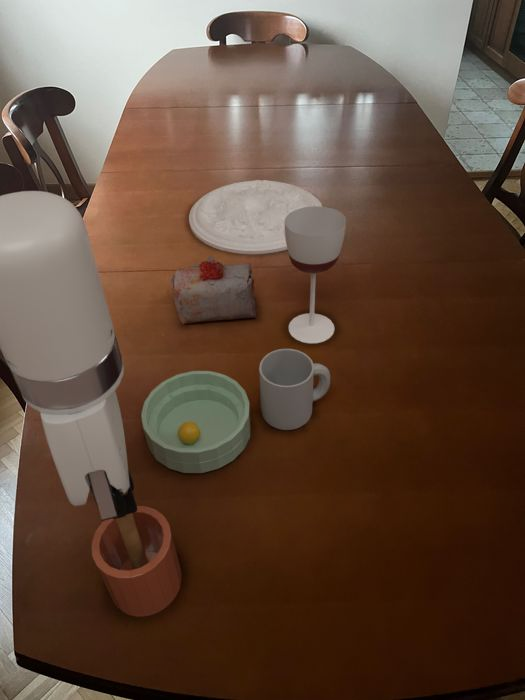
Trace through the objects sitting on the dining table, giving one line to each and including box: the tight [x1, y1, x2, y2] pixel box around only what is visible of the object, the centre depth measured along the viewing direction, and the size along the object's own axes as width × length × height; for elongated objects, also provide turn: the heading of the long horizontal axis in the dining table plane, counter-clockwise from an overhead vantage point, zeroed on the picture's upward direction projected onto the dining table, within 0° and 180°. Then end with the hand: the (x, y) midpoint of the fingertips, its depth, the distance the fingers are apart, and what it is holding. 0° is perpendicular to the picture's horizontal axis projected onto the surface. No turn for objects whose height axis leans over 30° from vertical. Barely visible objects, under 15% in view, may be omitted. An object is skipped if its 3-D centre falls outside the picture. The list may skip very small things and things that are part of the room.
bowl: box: [140, 370, 252, 474], centre depth 80 cm, size 14×14×5 cm
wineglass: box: [285, 206, 347, 344], centre depth 90 cm, size 8×9×20 cm
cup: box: [258, 348, 331, 431], centre depth 81 cm, size 7×10×9 cm
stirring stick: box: [116, 513, 147, 570], centre depth 58 cm, size 2×2×20 cm
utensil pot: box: [91, 505, 183, 618], centre depth 63 cm, size 8×8×9 cm
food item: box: [170, 255, 258, 325], centre depth 97 cm, size 14×8×10 cm, turn 95°
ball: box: [178, 422, 200, 444], centre depth 79 cm, size 3×3×3 cm
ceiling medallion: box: [188, 179, 324, 255], centre depth 122 cm, size 28×28×3 cm
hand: (118, 502), depth 55 cm, fingers closed on stirring stick, 1 cm apart
